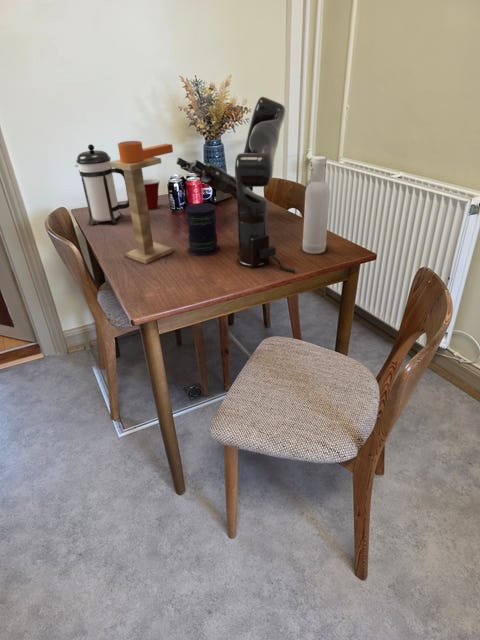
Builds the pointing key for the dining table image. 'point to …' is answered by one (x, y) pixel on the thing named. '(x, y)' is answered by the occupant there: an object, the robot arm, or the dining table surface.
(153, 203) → the plastic cup
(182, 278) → the dining table surface
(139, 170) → the plant stand
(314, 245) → the bottle
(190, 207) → the storage jar
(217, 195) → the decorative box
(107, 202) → the coffee press
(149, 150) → the measuring scoop
